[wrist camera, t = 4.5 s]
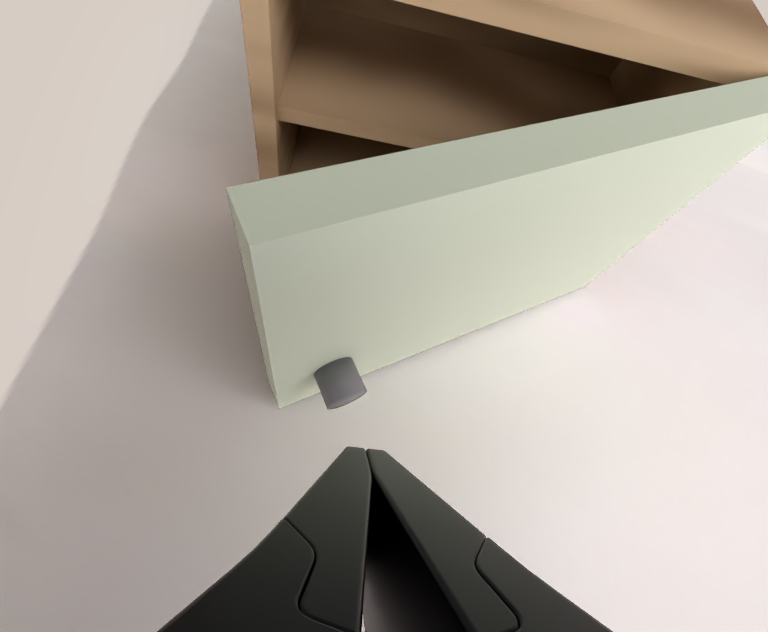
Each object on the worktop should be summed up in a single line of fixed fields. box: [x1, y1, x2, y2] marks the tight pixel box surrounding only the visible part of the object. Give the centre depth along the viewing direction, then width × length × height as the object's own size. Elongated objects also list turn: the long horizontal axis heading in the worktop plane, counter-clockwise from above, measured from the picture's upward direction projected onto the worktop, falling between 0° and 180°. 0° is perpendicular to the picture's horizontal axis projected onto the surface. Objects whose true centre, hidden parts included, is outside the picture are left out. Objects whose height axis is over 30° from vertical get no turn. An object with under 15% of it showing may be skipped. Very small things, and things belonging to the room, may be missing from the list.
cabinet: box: [240, 0, 768, 180], centre depth 18 cm, size 8×16×11 cm, turn 85°
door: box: [226, 76, 768, 409], centre depth 14 cm, size 2×16×11 cm, turn 115°
